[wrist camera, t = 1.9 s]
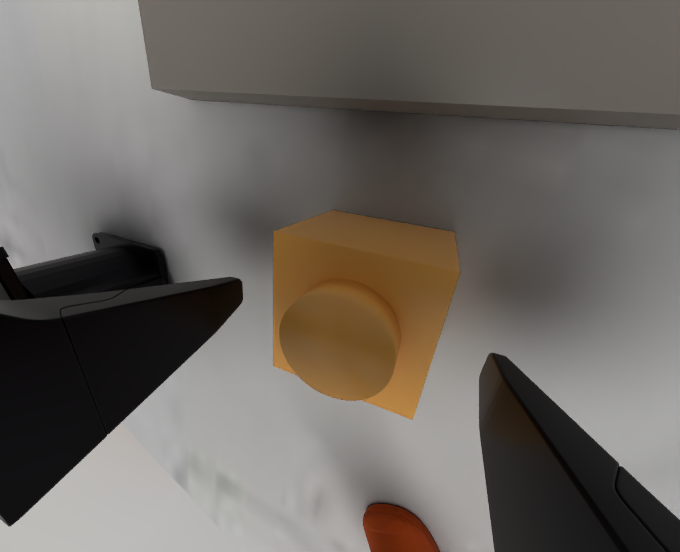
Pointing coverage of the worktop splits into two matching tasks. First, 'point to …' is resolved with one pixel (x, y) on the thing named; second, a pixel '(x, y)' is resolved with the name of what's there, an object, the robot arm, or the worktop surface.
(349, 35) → the grey peg board
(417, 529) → the toy drill
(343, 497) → the worktop surface
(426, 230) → the orange knobbed cube
